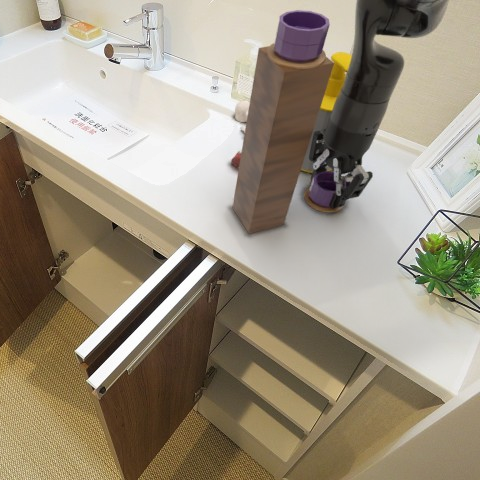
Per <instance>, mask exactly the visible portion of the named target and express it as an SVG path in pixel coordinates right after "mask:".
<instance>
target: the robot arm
mask: <svg viewBox="0 0 480 480" xmlns="http://www.w3.org/2000/svg"><path fill="white" fill-rule="evenodd" d="M449 3H450V0H356V2H355V9H354V36H353V47H352V52H351V56H352V57H351V61H350V65H349V68H348V71H347V72H346V73H345V74H346V77H345V80H344V83H343V85H342V88H341V90H340V92H339V94H338V96H337V98H336V101H335V103H334V106H333V109H332V112H331V115H330V118H329V121H328V124H327V127H326V129H324V130H320V131H315V132H314V134H313V139H312V144H311V149H310V154H309V160H310V161H313V163H314V164H313V168H314V170H313V173H311V176H310V181H309V184H310V185H311V183H312V180H313V177H314V176H315V175H316V174H317V173H319V172H323V171H327V169H326V168H325V167H328V166H329V167H330V168H332V170H331V171H332V172H334V182H336V192H335V193H334V195H333V198H332V200H331V202H330V205H329V206H330V208H331V209H336V208H339V207H342V206H343V207H344V206H345V203H346V201H348V200H351V199H355V198H359V197H360V196H361V195H362V193H363V192H364V190H365V188H366V187H367V186H368V184H369V183H370V182H371V180H372V179H373V176H374V175H373V172H372V171H369V170H368V171H366V170H365V169H364V168H363V166H362V165H363V156H364V155H365V154H366V153H367V152H368V150H370V148H371V146H372V144H373V142H374V140H375V138H376V135H377V132H378V130H379V129H380V126H381V124H382V122H383V120H384V117H385V115H386V113H387V110H388V107H389V104H390V101H391V97H392V96H393V93H394V91H395V89H396V86H397V84H398V82H399V79H400V78H401V75H402V73H403V70H404V68H405V58H404V56H403V55H402V54H401V53H400V52H398V51H397V50H395V49H393V48H390V47H388V46H385V45H383V44H380V43H379V42H377V41H376V40H375V37H376V36H384V37H385V36H386V37H395V38H405V39H420V38H423V37H426V36H428V35H430V34H432V33H433V32H434V31H435V30H437V28H438V27H439V25H440V24H441V22H442V20H443V19H444V17H445V14H446V12H447V9H448V5H449ZM317 150H319V152H318V153H316V151H317ZM341 175H342V177H341ZM345 182H346V187H343V183H345ZM343 207H342V208H343Z"/></svg>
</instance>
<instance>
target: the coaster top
mask: <svg viewBox="0 0 480 480" xmlns="http://www.w3.org/2000/svg"><path fill="white" fill-rule="evenodd" d="M268 46H269V47H268V49H267V57H268V58H269V59H270V60H271V61H272V62H274V63H276V64H278V65H280V66H283V67H287V68H293V69H309V68H314V67H317V66H319V65H321V64H322V63H323V62H324V61H325V58H326V57H327V56H326V55H327V54H326V52H325V51H324V49H323V50H322V53H321V54H320V55H319V56H317V57H316V58H315V59H313V60H311V61H307V62H293V61H288V60H285V59H283V58H281V57H280V56H278V54H277V52H276V51H275V50H274V42H273V43H272V44H270V45H268Z"/></svg>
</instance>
